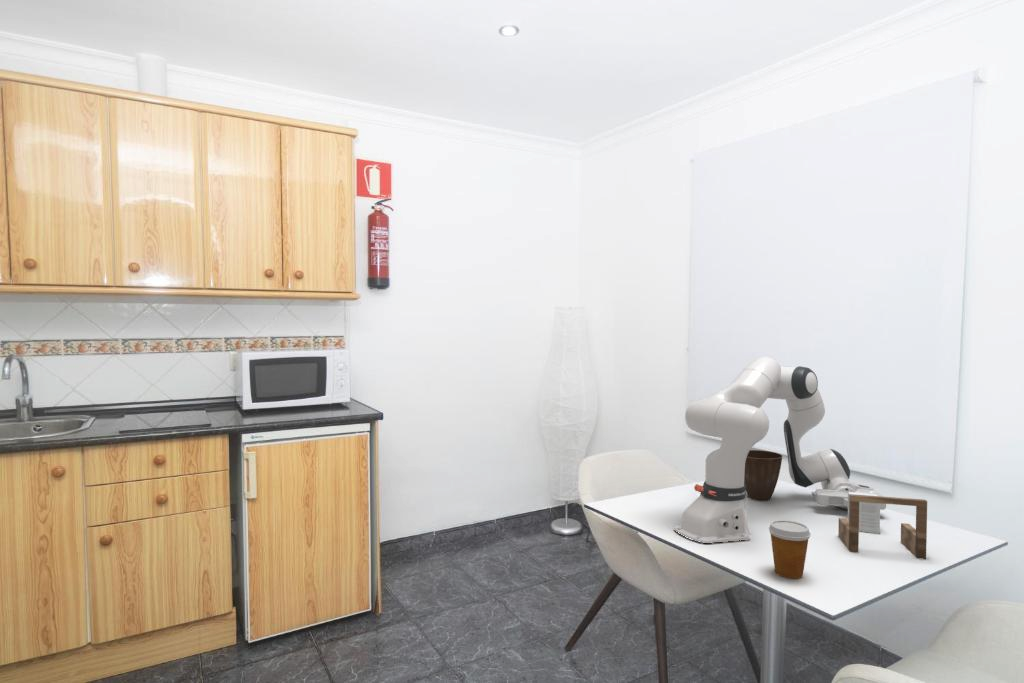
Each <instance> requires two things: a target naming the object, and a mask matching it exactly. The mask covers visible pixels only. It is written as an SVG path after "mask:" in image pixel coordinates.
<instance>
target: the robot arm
mask: <svg viewBox="0 0 1024 683" xmlns="http://www.w3.org/2000/svg"><path fill="white" fill-rule="evenodd" d="M818 386H819V382H818V377H817V375H816V373H815V372H814V371H813V370H812V369H811V368H809V367H806V366H801V365H800V366H789V365H788V366H787V365H785V366H784V365H783V366H781V365H780V363H779V362H778V361H777V360H775V359H774V358H772V357H771V356H770V357H769V356H760V357H757V358H756V359H754V360H753V361H751V362H750V363H748V364H747V365H746V367H744V368H743V369H742V370H741V372H740V373H739V374H738V375H737V376H736V377H735V378H734V380H733V381H731V382H730V384H729V385H727V386H726V387H725V388H723V389H721V390H719V391H717V392H716V393H714V394H711V395H710V396H708V397H705V398H702V399H698V400H694V401H692V402H690V404H689V405H688V406H687V408H686V410H685V417H684V418H685V419H684V420H685V423H686V425H687V426H688V428H689V430H691V431H694V432H696V433H699V434H701V435H703V436H707V437H708V436H709V437H714V438H721V444H720V446H719V448H718V449H715V450H713V451H711V452H710V453H709V454H707V456H706V458H705V476H704V477H705V480H704V482H703V484H702V485H700V484H698V483H696V484H695V485H694V487H693V489H694V491H696V492H698V493H700V495H699V496H698V497H697V498H696V499H695V500H694V501H693V502H692V503H691V504H689V506H688V507H686V508H685V509H684V511H683V512H682V519H681V523H680V524H676V525H674V526H673V530H674V529H675V530H676V531H677V532H679V533H680V534H682V535H684V536H686V537H688V538H691V539H693V540H696V541H700V542H704V543H711V542H723V543H729V542H728V541H734V542H742V541H741V540H745V541H750V539H751V537H750V530H749V526H748V518H747V517H748V516H747V512H746V504H745V502H746V501H745V499H746V495H747V492H746V486H745V485H744V473H745V462H746V458H747V455H748V453H749V451H750V450H752V448H753V447H754V446H755V445H756V444H757V443H759V442H760V441H762V440H763V439H764V438H765V437H766V436H767V434H768V432H769V429H770V420H769V416H768V415H767V413H766V411H764V409H762V408H761V407H762V406H763V404H764V403H765V402H766V401H767V400H768V399H775V400H785V402H786V406H787V408H788V415H787V417H786V418H787V419H786V420H784V422H783V433H784V434H783V435H784V442H785V448H786V454H787V462H788V463H787V464H788V473H789V477H790V480H792V481H793V483H794V484H795V485H797V486H800V487H801V488H802V487H803V488H808V487H811V486H812V485H815V484H818V483H820V485H821V488H817V489H815V491H811V495H812V496H813V497H815V503H816V504H818V505H822V506H823V505H824V506H832V507H833V506H834V507H838V508H841V509H848V492H856V493H866V494H876V495H877V496H881V497H885V496H884V495H882V494H881V493H880V492H878V491H876V490H874V488H873V486H868V485H862V484H858V483H854V482H851V481H849V479H850V477H851V469H850V466H849V464H848V462H847V460H846V459H845V457H844V456H843V454H841V453H840V452H839V451H837V450H835V449H832V448H829V449H825V450H821V451H818V452H816V453H812V454H809V455H806V456H802V453H801V446H800V441H801V439H802V437H804V436H805V435H806V433H808V432H809V431H810V430H812V429H814V428H815V427H817V426H818V425H819V424H820V423H821V421H822V420H823V419H824V417H825V413H826V408H825V403H824V400H823V398H822V395H821V393H820V390H819V388H818ZM886 508H887V504H882V503H880V511H881V510H883V511H884V510H886ZM739 540H740V541H739Z"/></svg>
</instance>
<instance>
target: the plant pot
mask: <svg viewBox="0 0 1024 683" xmlns="http://www.w3.org/2000/svg"><path fill="white" fill-rule="evenodd" d="M782 461H783V455H782V454H781V453H777V452H774V451H770V450H769V451H767V450H761V449H750V451H749V453H748V455H747V458H746V462H745V473H744V485H745V486H746V495H747V497H748V499H750V500H753V501H757V500H758V501H757V502H767V501H768V500H769V501H770V499H772V498H773V495H774V493H775V489H776V487H777V483H778V481H779V480H778V479H779V477H780V471H781V467H782Z"/></svg>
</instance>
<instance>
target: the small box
mask: <svg viewBox="0 0 1024 683" xmlns="http://www.w3.org/2000/svg"><path fill="white" fill-rule="evenodd" d="M850 494H854V495H867V496H877V495H876V494H866V493H856V492H848V508H847V520H848V521H849V497H850ZM861 531H862V533H871V534H878V535H880V533H881V509H880V503H869V502H859V532H861Z"/></svg>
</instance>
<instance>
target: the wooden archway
mask: <svg viewBox="0 0 1024 683" xmlns="http://www.w3.org/2000/svg"><path fill="white" fill-rule="evenodd" d="M859 502H869V503H882V504H886V505H896V506H911V507H915V527H913V526H912V525H911V523H905V522H904V523H903V522H901V523H900V543H901V544H902V545H903V546H904V547H905V548H906V549H907V550H908V551H909V552H911V554H912V555H913V556H914V557H915V558H916V559H919V558H923V559H922V560H926V559H927V542H928V541H927V537H928V536H927V535H928V534H927V533H928V500H926V499H922V498H921V499H920V498H906V497H895V496H893V497H891V496H884V497H881V496H867V495H854V494H850V497H849V521H848V518H842V517H838V529H837V530H838V533H837V534H838V535H837V537H838V538H839V539H840V541H841V542H842V544H844V546H845V547H846V548H847V550H848V552H850V553H859V544H860V543H859V538H860V537H859V535H860V531H859Z"/></svg>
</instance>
